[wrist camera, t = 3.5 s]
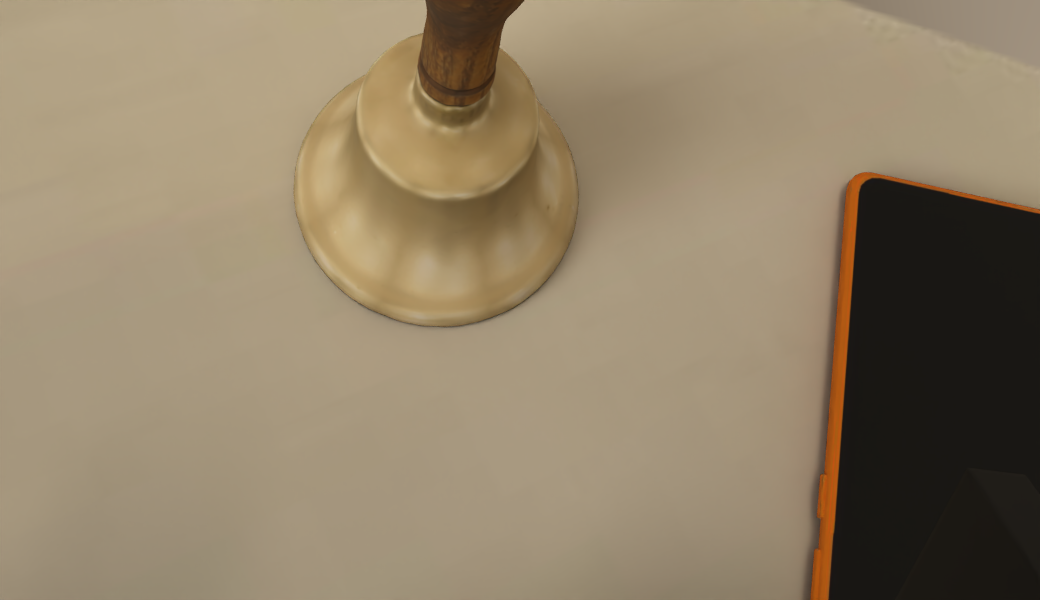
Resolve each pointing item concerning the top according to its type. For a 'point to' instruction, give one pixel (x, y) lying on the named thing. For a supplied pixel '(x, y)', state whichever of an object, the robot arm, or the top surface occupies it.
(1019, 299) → the smartphone
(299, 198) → the hand bell
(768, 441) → the top surface
